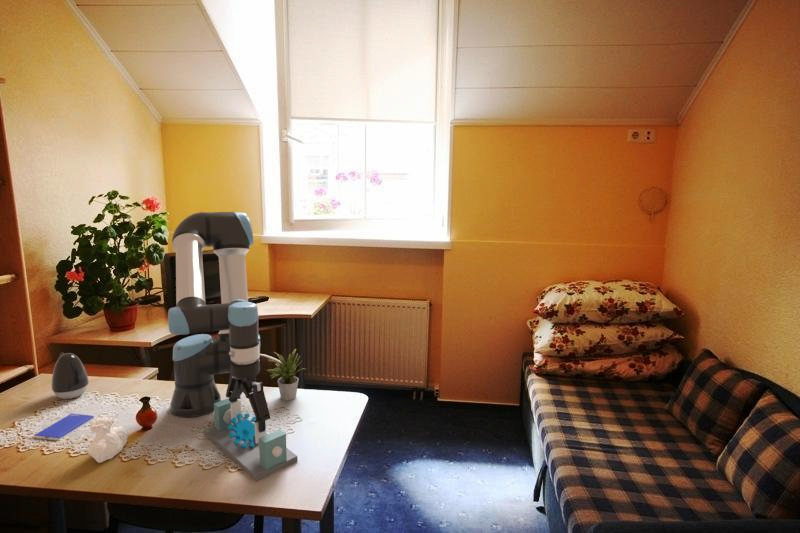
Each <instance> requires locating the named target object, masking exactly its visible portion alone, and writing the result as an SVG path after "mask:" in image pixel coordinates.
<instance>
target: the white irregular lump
mask: <svg viewBox="0 0 800 533" xmlns="http://www.w3.org/2000/svg"><path fill="white" fill-rule="evenodd" d="M113 424H114V423H113V421H112V420H111V416H110V415H109V416H107V417H106V416H105V417H96V418H94V419H93V420H91V421H90V422H89V428H90V431H91V433H92V434H95V433H96V435H95V436H94V438H93V440H91V441H90V444H89V445H88V449H87V451H86V452H87V454H88V455H89V456H91V457H92V458H93V459H94V460H95V461H96V462H97V463H98V464H100V463H104V462H105V461H108V460H111V459H113V458H114V457H115V456H117V455H118V454H119V453H120V452H122V451H123V448H124V446H125V445H126V444H127V442H128V437H129V436H128V432H127V430H126V429H125V426H121V425H119V426H114V427H112V426H113Z"/></svg>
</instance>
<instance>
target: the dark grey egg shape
mask: <svg viewBox="0 0 800 533" xmlns="http://www.w3.org/2000/svg"><path fill="white" fill-rule="evenodd" d="M52 372H53V373H52V378H51V391H52V392H53V393H54V395H55V396H56V397H57V398H58V399H63V400H71V399H74V398H78V397H80V396H81V395H82V394H84V393H85V392H86V391H87V389H88V385H89V377H88V373H87V371H86V368H85V366H84V365H83V362H82V361H81V359H80V358H79V357H78V356H77V355H76V354H74V353H71V352H67V353H66V352H65V353H64V352H60V353H59V357H58V358H57V360H56V362H55V364H54V368H53V371H52Z"/></svg>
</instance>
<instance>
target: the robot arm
mask: <svg viewBox="0 0 800 533" xmlns="http://www.w3.org/2000/svg"><path fill="white" fill-rule="evenodd" d="M253 234H254V233H253V227H252V224H251V220H250V217H249V215H248V214H246V213H245V212H241V211H240V212H237V211H218V212H216V211H214V212H212V211H211V212H210V211H208V212H205V211H201V212H194V213H192V214H190V215H188V216H187V217H186V218H183V220H182V221H180V222H179V224H178V225H177V227H176V228H175V230H174V231H173V234H172V238H171V246H172V247H171V248H172V249H173V251H174V252H175V278H176V279H175V287H176V288H175V292H176V293H175V297H176V298H175V301H176V303H175V304H176V306H174V307H170V308H169V309H168V311H167V312H168V313H167V324H168V330H169V333H170V335H173V336H174V335H175V336H177V335H178V336H179V335H180V336H181V335H182V336H183V335H190V334H192V335H190V336H187V337H184V338H182V339H180V340H178V341H176V342H175V344H174V345H173V348H172V361H173V373H174V376H173V377H174V390H173V394H172V396H171V401H170V403H169V404H170V406H169V407H170V412H171V414H172V415H174V416H177V417H180V418H194V417H199V416H204V415H207V414H209V413H211V412H214V403H216V402H219V401H222V400H221V394H220V391H219V390H218V387H217V385H216V382H215V377H214V375H222V374H227V373H228V374H229V379H228V383H227V384H228V385H227V386H226V387H227V388H226V393H225V398H226V399H228V398H229V401H230V402H231V403H230V405H231V419H232V418H234V417H235V418H236V423H238V418H237V415H238V414H242V404H241V402H242V401H241V400H240V399H241V396H242V394H244V395H245V398H246V399H248V401H249V403H250V404H249V405H250V406H251V409H252V411H253V414H254V417H256V420H255V421H254V422H253V423H254V424H255V443H256V444H258V443H259V438H260V437H263V436H265V435H266V433H267V431H266V430H267V429H266V428H267V427H266V421H268V420H270V419H271V413H270V410H269V406H268V402H267V398H266V396H265V391H264V390H265V389H264V383H263V381H260V382H257V378H256V377H257V375H258V374H260V372H261V360H260V354H261V335H260V333H259V317H260V315H259V310H258V305H257V304H256V303H254V302H252V301H249V295H248V294H249V292H248V278H247V263H246V261H247V260H246V255H247V254H248V252H249V251H250V247H251V246H253V245H254V243H255V242H254V241H255V240H254V235H253ZM206 247H207V248H210V247H211V248H212V249H213V250H212V251H213V253H214V254H215V255H216V256H217V257H218V263H219V264H218V268H219V282H220V283H219V284H220V287H219V288H220V300H221V303H216V304H215V303H214V304H206V293H205V290H206V289H205V276H204V264H203V263H204V262H203V261H204V260H203V251H204V250H205V248H206ZM218 331H219V332H218ZM209 332H218V337H217V338H213V337H212V335H210V334H207V333H209ZM199 333H201V334H199ZM231 424H232V425H234V424H233V423H231Z"/></svg>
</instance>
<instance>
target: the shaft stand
mask: <svg viewBox="0 0 800 533" xmlns="http://www.w3.org/2000/svg"><path fill="white" fill-rule="evenodd" d="M230 403H231V402H230V401H229V397H228V398H225V399H223V400H221V401H219V402H216V403H214V410H213V415H214V425H213V426H212V427H209V428H207V429H203V431H204V432H203V433H204V434H203V435H204V436H206V437H207V439H208V440H210V442H212V443H213V444H214V445H215V446H216V447H217V448H219V450H221V451H222V452H223V453H224V454H225V455H226V456H228V458H229V459H230V460H232V461H233V462H234V463H235V464H236V465H237V466H239V467H240V468H241V470H242V471H244V472H245V473H246V474H247V475H249V476H250V477H251V478H252V479H253V480H254V481H255V482H258V481H260V480H263V479H264V478H266V477H269V476H270V475H273V474H274V473H276V472H278V471H280V470H283V469H285V468H286V467H289V466H290V465H292V464H294V463H296V462H298V461H299V460H298V455H297V454H295V453H294V452H293V451H292V450H290V449H289V448H287V433H286V432H285V431H283V430H281V429H277V430H275V431H272V432H270V433H267V432H266V435H265V436H263V437H260V438H259V443H258V444H256V443H255V438H253V443H254V444H255V446H254V447H252V448H249V444H250V441H247V447H246V448H245V449H243V448H241V445H242V444H243V443H244V441H243V440H242V441H240V442H239V443H238V444H237V445H235V444H234V443H233V442H234V441H235V440H236V439H235V438H236V437H233V438H229V434H230V433H231V432H233V433H234V434H236V433H235V432H234V431H232V430H228V426H229V425H230V424H231V421H230V420H231V405H230ZM241 420H244V415H242V417H241ZM247 420H248V421H250V419H249V418H247ZM252 424H254V422H252ZM233 427H234V428H235V425H233Z"/></svg>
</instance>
